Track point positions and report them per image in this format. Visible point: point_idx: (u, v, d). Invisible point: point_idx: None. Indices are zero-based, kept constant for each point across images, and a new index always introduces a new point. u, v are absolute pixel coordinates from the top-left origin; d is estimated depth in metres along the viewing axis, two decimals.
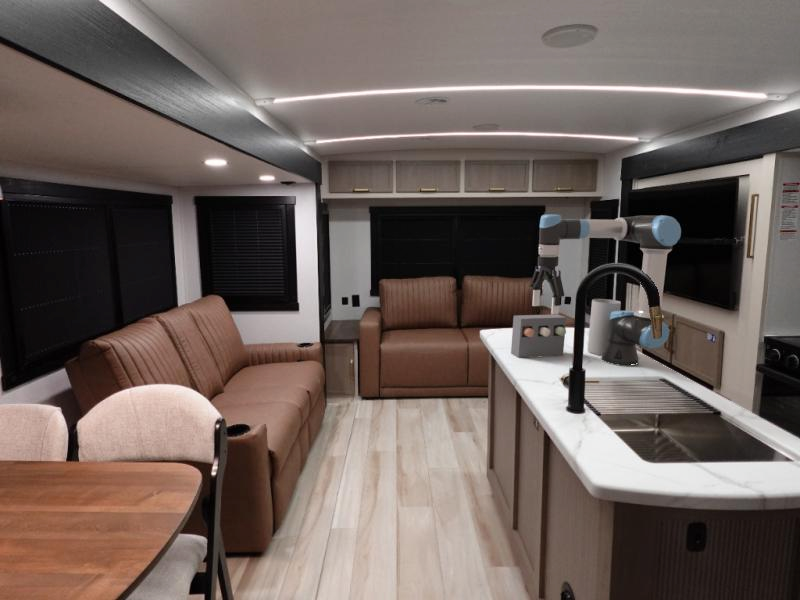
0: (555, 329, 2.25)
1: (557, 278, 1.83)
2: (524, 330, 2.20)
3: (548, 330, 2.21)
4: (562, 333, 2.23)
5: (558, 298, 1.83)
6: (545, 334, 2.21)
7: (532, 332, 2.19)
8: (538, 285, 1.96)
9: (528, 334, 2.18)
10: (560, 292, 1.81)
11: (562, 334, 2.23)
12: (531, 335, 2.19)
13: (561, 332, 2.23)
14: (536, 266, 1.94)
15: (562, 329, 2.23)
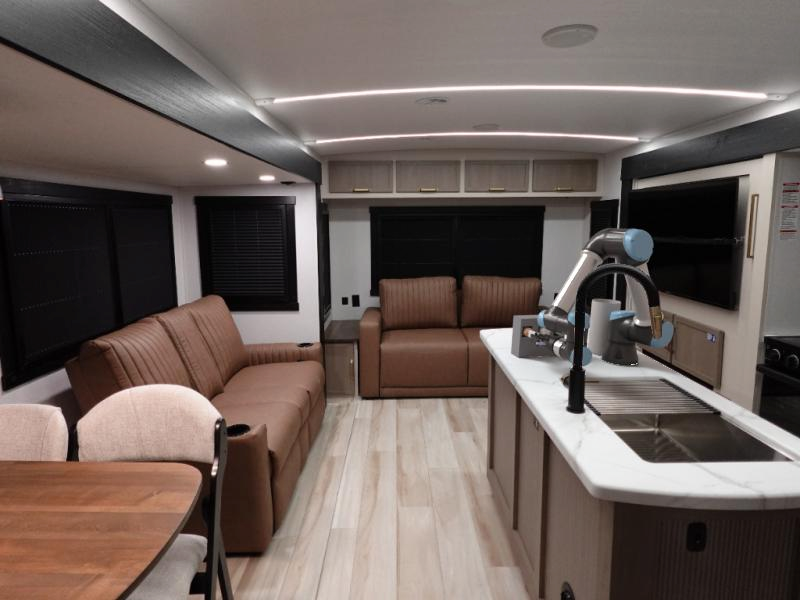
0: None
1: None
2: (524, 330, 2.21)
3: (548, 330, 2.21)
4: None
5: None
6: None
7: None
8: None
9: None
10: None
11: (562, 334, 2.23)
12: None
13: None
14: None
15: None
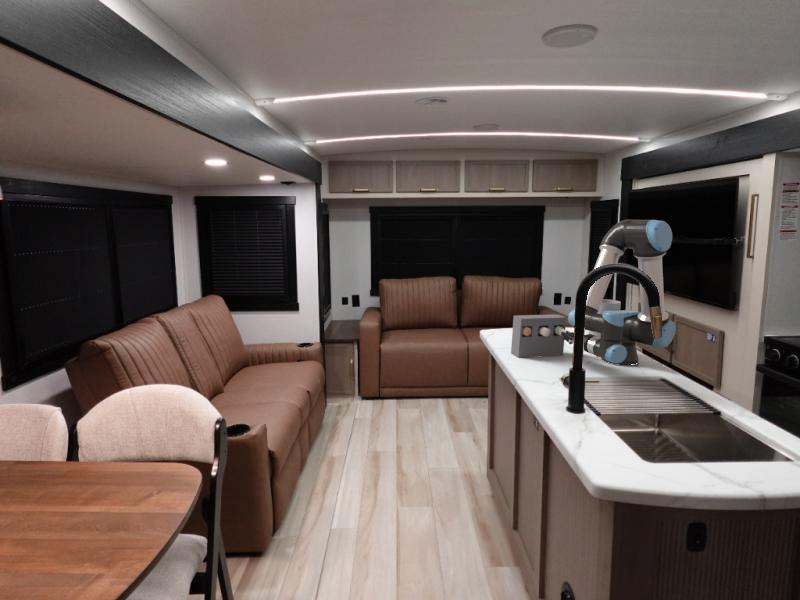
0: None
1: None
2: None
3: (548, 330, 2.21)
4: None
5: None
6: (545, 334, 2.21)
7: (529, 331, 2.21)
8: None
9: (525, 333, 2.21)
10: None
11: None
12: (528, 334, 2.21)
13: None
14: None
15: (561, 328, 2.24)
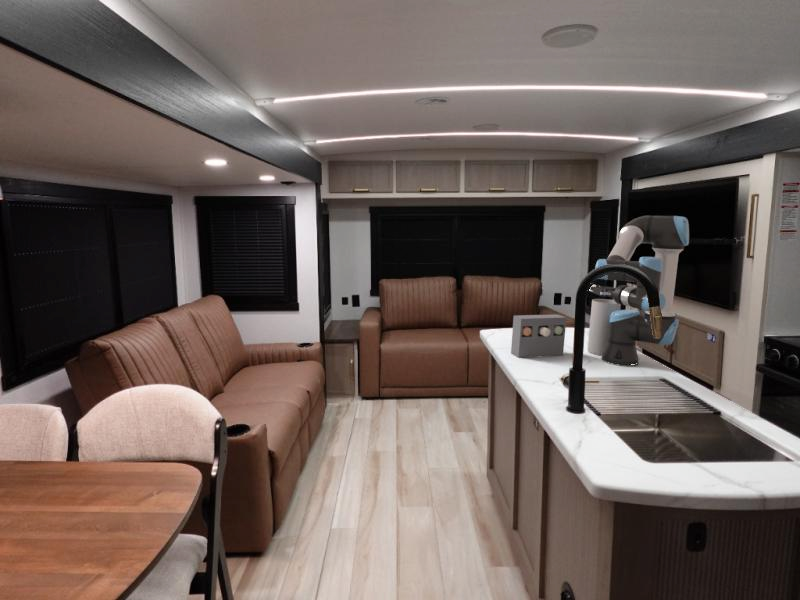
0: None
1: None
2: None
3: (548, 330, 2.21)
4: (558, 331, 2.25)
5: None
6: (545, 334, 2.21)
7: (529, 331, 2.21)
8: None
9: (525, 333, 2.21)
10: None
11: (559, 333, 2.26)
12: (528, 334, 2.21)
13: (557, 330, 2.25)
14: (602, 296, 1.93)
15: (559, 327, 2.25)
